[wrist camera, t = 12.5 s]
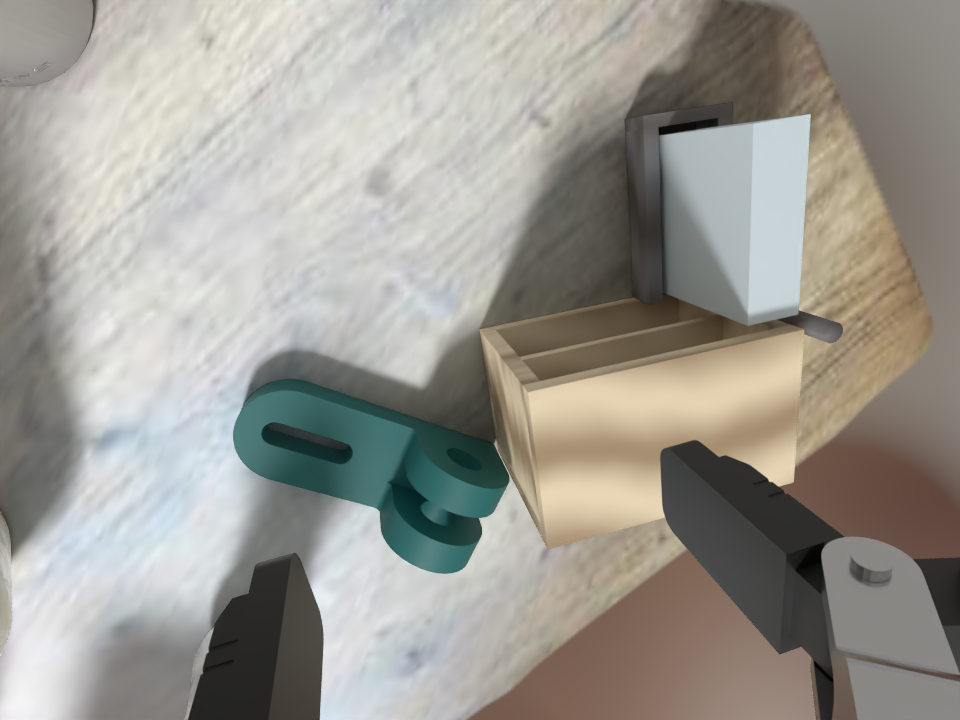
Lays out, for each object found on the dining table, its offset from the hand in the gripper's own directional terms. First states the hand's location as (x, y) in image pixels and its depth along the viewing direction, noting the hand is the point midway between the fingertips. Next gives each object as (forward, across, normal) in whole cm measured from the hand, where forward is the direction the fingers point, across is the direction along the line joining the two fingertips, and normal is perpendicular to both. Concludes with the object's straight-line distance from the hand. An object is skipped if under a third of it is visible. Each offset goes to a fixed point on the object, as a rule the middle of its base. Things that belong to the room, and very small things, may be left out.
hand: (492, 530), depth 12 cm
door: (+27, -20, 0) cm, 33 cm away
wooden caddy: (+27, -14, +4) cm, 30 cm away
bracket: (+27, +5, +12) cm, 30 cm away
